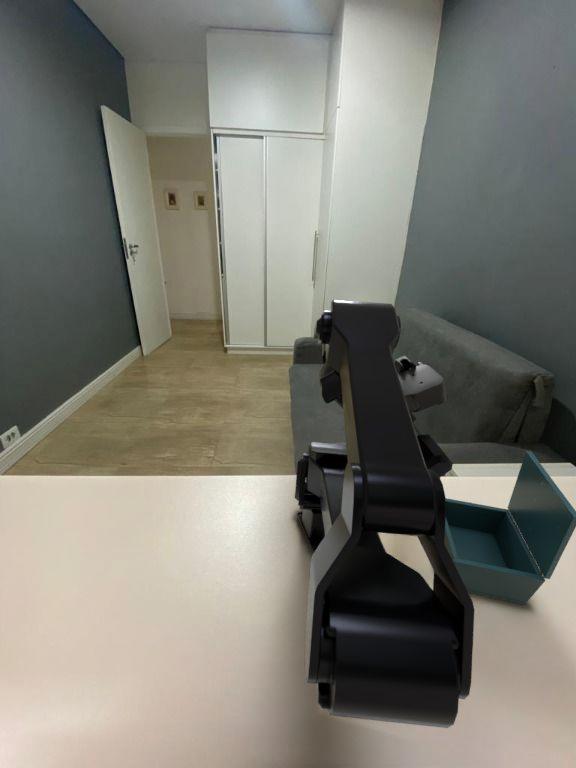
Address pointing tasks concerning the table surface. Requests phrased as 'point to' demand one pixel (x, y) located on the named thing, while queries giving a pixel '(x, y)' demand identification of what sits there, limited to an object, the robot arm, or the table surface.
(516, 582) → the box
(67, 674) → the table surface
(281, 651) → the table surface
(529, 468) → the box lid
